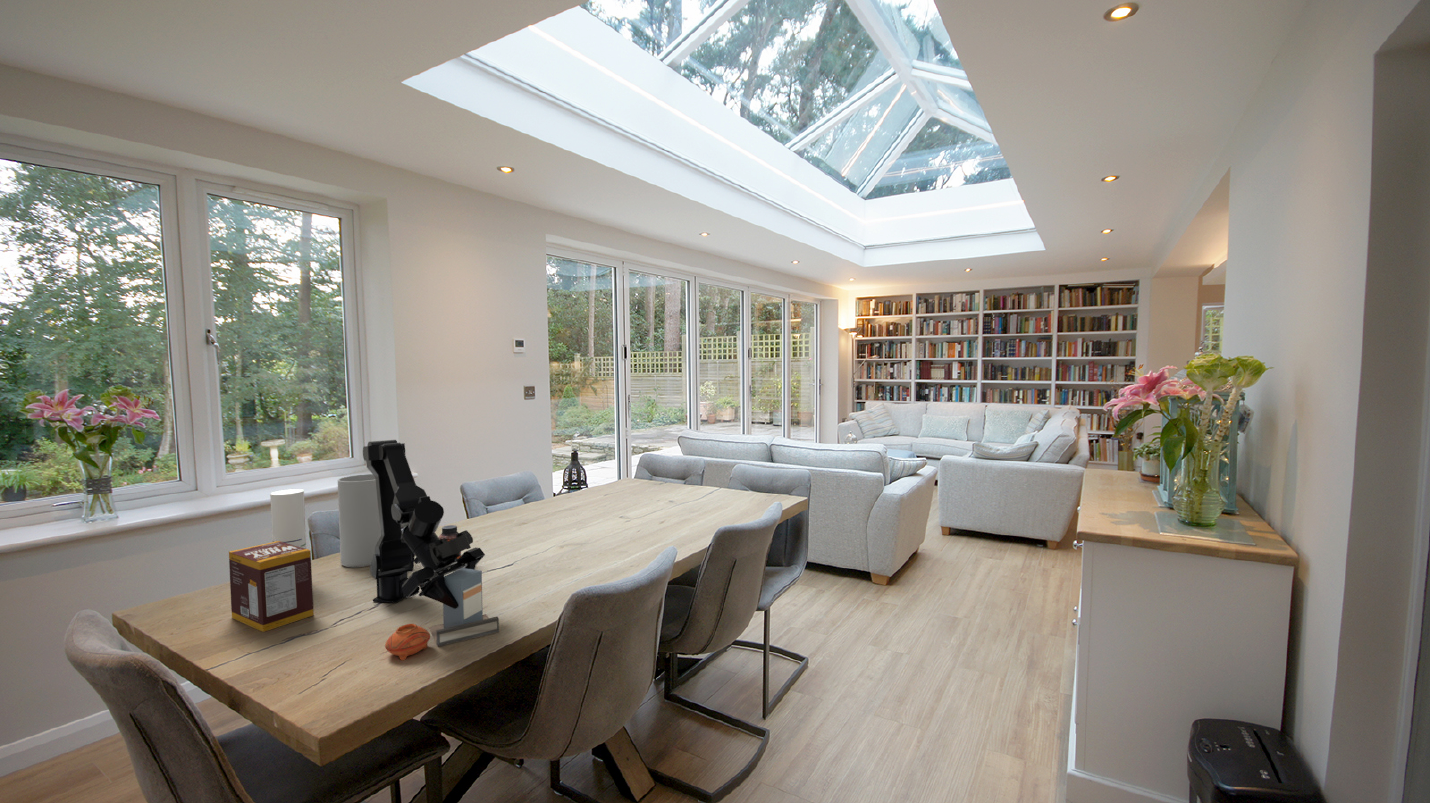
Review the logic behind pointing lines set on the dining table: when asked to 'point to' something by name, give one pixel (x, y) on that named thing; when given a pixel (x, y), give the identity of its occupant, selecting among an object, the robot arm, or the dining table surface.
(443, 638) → the plate
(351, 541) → the cylinder vase
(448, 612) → the blue-grey carton
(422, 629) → the pot
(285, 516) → the cylindrical container
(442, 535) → the supplement bottle
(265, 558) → the supplement box
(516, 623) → the dining table surface
